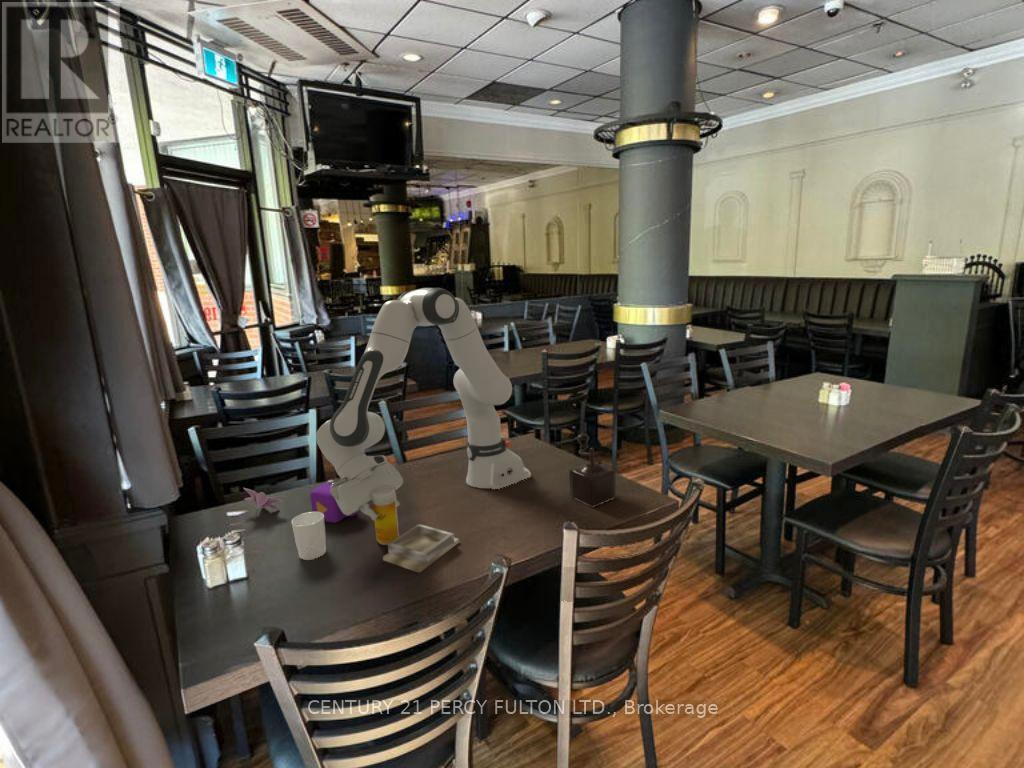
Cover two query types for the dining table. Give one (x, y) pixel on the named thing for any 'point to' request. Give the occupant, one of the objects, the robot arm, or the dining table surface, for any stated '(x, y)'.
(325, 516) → the toy camera
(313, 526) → the white cup
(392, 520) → the glass of beer
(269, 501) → the lily
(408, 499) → the dining table surface
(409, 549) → the socket board
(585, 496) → the pepper mill
